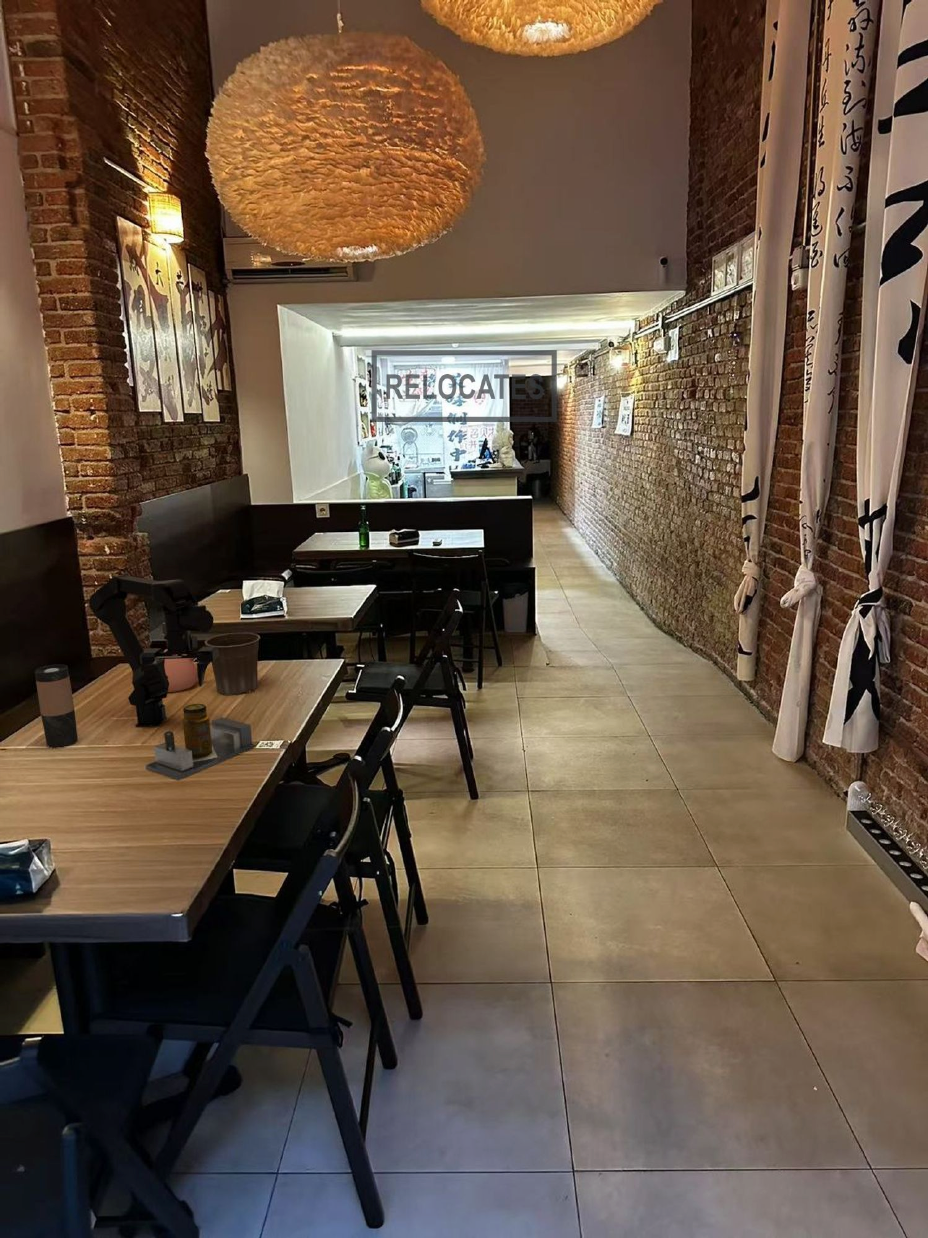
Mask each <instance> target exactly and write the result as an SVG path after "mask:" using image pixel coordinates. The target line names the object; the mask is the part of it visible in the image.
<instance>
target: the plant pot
mask: <svg viewBox="0 0 928 1238" xmlns="http://www.w3.org/2000/svg"><path fill="white" fill-rule="evenodd" d="M260 640H261V636H260V635H259V634H257V633H252V632H231V633H222V634H218V635H214V636H211V637H209V638H207V639H206V640H205V641H204V643H205V647H216V648H217V649H218V652H219V656H218V657H217V658H216V659H215V660H214V661H213V662H211V667H212V670H213V671H212V672H213V678H214V680H215V681H214V682H215V685H216V691H217V692H218V691H219V692H218V693H219V694H220V693H221V695H225V694H238V695H242V694H243V693H246V692H248V693H250V692H249V691H251V692H253V691H255V690H256V689H257V688H258V687H257V686H258V685H259V684H258V683H259V682H258V677H259V676H258V655H259V653H258V651H259V649H260V647H259V644H260V642H259V641H260ZM254 689H255V690H254ZM252 690H253V691H252ZM241 693H242V694H241Z"/></svg>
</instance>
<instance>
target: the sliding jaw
mask: <svg viewBox="0 0 928 1238" xmlns="http://www.w3.org/2000/svg"><path fill="white" fill-rule="evenodd" d="M163 737H164V742H163V743H159V744H157V745H154V746H153V750H154V751H153V752H154V758H155V759H154V761H156V763H159V764H162V765H165V766H168V767H171V768H174V769H177V770H180V771H184V770H187V769H189V768H192V767H193V759H192V751H191V750H188V749H186V747H185V748H184V747H182V746H179V745H176V743H175V737H174V731H170V730H169V731H166V732H164V733H163Z"/></svg>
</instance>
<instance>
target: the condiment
mask: <svg viewBox="0 0 928 1238" xmlns="http://www.w3.org/2000/svg"><path fill="white" fill-rule="evenodd" d="M182 709H183V710H182V711H183V719H182V727H183V737H184V745H185V749H188V750H191V751H192V759H193V762H195V761H201V760H207V759H212V758H216V757H217V755H216V753H215V751H214V748H213V746H212V741H211V732H210V726H211V725H210V724H211V723H210V716H209V714H208V711H207V706H206V704H204V703H191V704H187V705H186V706H184V707H183V708H182Z"/></svg>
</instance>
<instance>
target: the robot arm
mask: <svg viewBox="0 0 928 1238" xmlns="http://www.w3.org/2000/svg"><path fill="white" fill-rule="evenodd" d="M130 594H132V595H139V596H143V597H148V598H150V599H152V601H154V602H155V603H158V604H160V605H159V606H158V607H157V608H156V612H157V613H162V616H163V623H164V624H163V625H164V632H165V633H164V634H165V635H164V636H163V639H164V641H165V640H166V649H167V651H166V652H164V650H163V648H161V647H160V648H159V647H158V648H157V647H155V648H154V647H153V648H150V647H149V648H147V649H146V650H144V649H143V646H142V645H141V642H140V640H139V639H138V637H137V635H136V634H135V632H134V629H133V628H132V626H131V624H130V622H129V621H128V619H127V608H128V605H127V603H126V599H127V598H128V597H129V596H130ZM88 606H89V608H90V610H91V612H92V613H93V614H94V616H95V618H96V619H97V620H99V621H101V622H102V623H104V624H105V625H107V626H108V628H109V630H110V632H111V634H112V636H113V637H114V639H115V641H116V643H117V645H118V646H119V649H120V650H121V653H122V654H123V656H124V658H125V660H126V661H127V663H128V666H129V667H130V669H131V671H132V679H131V680H132V681H131V684H132V687H133V691H132V692H130V695H129V696H128V697H127V698H128V699H127V700H128V703H129V704H130V706H133V707H135V712H136V718H137V723H136V724H134V725H135V728H136V727H137V728H138V727H139V728H141V727H143V728H144V727H159V726H161V725H162V724H163V723H164V722H165V721H166V720H167V719H168V716H167V713H166V712H167V711H166V710H167V709H166V704H163V702H164V701H163V699H167V698H168V693H169V692H168V687H169V681H168V679H167V678H168V676H167V675H166V672H165V667H164V664H165V659H182V658H194V659H196V660H197V661H198V662H197V663H196V669H197V674H198V679H197V680H198V682H197V683H198V686H199V687H202V686H203V683H204V679H205V674H206V672H207V671H206V670H208V666H209V665H210V664H212V662H213V661H214V660H215V659H216V658H217V657H218V656H219V652H218V649H217V648H216V647H207V646H202V647H201V648H200V649H198V636H195V635H192V632H195V633H198V632H199V633H207V632H209V631H210V630H211V629H212V628H213V625H214V616H213V614H212V613H211V611H209V610H207V606H206V605H205V604H201V605H199V602H198V600H197V598H196V597H195V596H194V595H193V593H192V592H191V590H190V588H189V587H188V585H187V584H186V582H185V581H184V580H183V579H170V580H160V581H159V580H153V579H147V578H142V577H137V576H131V575H129V574H121V575H116V576H115V575H114V576H112V577H111V578H109V579H108V580H107V582H106V583H105V584H104V585H102V586H101V587H99V588H98V589H97V590H96V591H95V592H94V593H92V594H91V595H90V597H89V601H88ZM197 649H198V650H197Z"/></svg>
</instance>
